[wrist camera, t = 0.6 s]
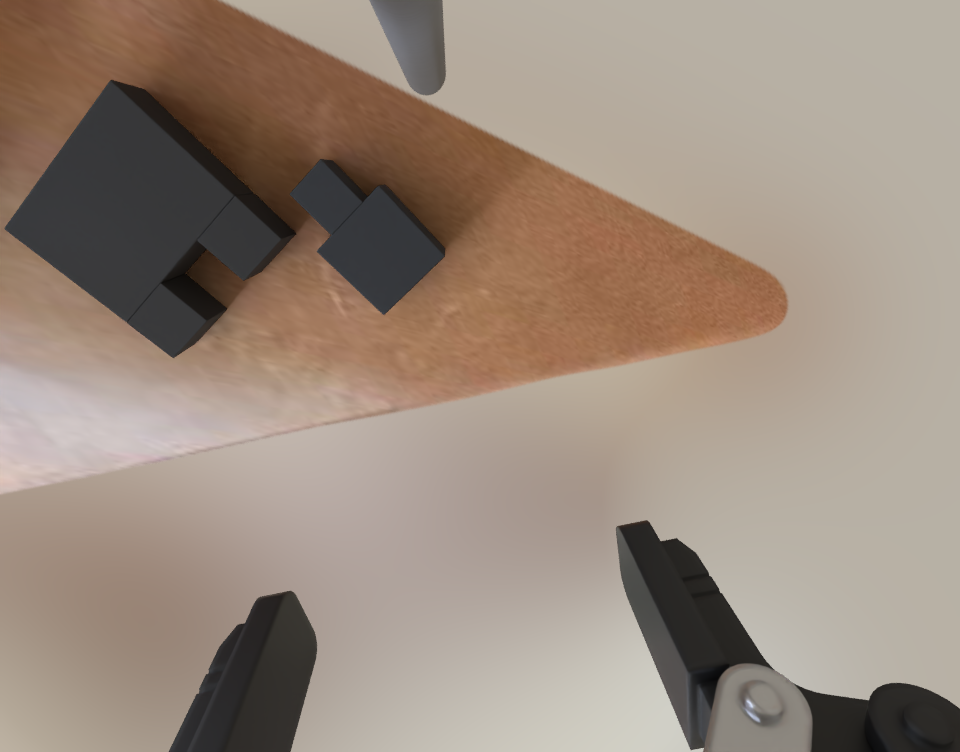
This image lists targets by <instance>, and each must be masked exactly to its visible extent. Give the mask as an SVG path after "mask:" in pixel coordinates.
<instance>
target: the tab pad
mask: <svg viewBox="0 0 960 752" xmlns="http://www.w3.org/2000/svg"><path fill="white" fill-rule="evenodd" d="M290 195H291V196H292V197H293V198H294V199H295V200H296V201H297V202H298V203H299V204H300V205H301V206H302V207H303V208H304V209H305V210H306V211H307V212H308V213H309V214H310V215H311V216H312V217H313V218H314V219H315V220H316V221H317V222H318V223H319V224H321V225H322V226H323V227H324V228H325V229H326V230H327V231H328V232H329V233H330V234H331V236H330V238H329V239H328V240H327V241H326V242H325V243H324V244H323V245H322V246H321V247H320V248H319V249H318V250H317V252H318V253H319V254H320V255H321V256H322V257H323V258H324V259H325V260H326V261H327V262H328V263H329V264H331V265H332V266H333V267H334V268H335V269H336V270H337V271H338V272H339V273H340V274H341V275H342V276H343V277H344V278H345V279H346V280H347V281H348V282H349V283H350V284H352V285H353V286H354V287H355V288H356V289H357V290H358V291H359V292H360V293H361V294H362V295H363V296H364V297H365V298H366V299H367V300H368V301H369V302H370V303H372V304H373V305H374V306H375V307H376V308H377V309H378V310H379V311H380V312H381V313H382V314H383V315H384V314H386V313H387V312H388V311H389V310H390V309H391V308H392V307H393V306H394V305H395V304H396V303H397V302H398V301H399V300H400V299H401V298H402V297H403V296H404V295H405V294H406V293H407V292H408V291H409V290H411V289H412V288H413V287H414V286H415V285H416V284H417V283H418V282H419V281H420V280H421V279H422V278H423V277H424V276H425V275H426V274H427V273H428V272H429V271H430V270H431V269H432V268H433V267H434V266H435V265H436V264H437V263H438V262H439V261H440V260H442V259H443V258H444V257H445V248H444V247H443V246H442V245H441V244H440V242H439V241H438V240H437V239H436V238H435V237H434V236H433V235H432V234H431V233H430V232H429V231H428V230H427V228H426V227H425V226H424V225H423V224H422V223H421V222H420V221H419V220H418V219H417V218H416V217H415V216H414V215H413V213H412V212H411V211H410V210H409V209H408V208H407V207H406V206H405V205H404V204H403V203H402V202H401V201H400V199H399V198H398V197H397V196H396V195H395V194H394V193H393V192H392V191H391V190H390V189H389V188H388V187H387V186H386V185H380V186H378V187H377V188H376V189H375V190H374V191H373V192H372V193H371V194H370V195H369V196H368V197H367V196H366V195H365V194H364V193H363V191H362V190H361V189H360V188H359V187H358V186H357V185H356V184H355V183H354V182H353V181H352V180H351V179H350V178H349V177H348V176H347V175H346V174H345V173H344V172H343V171H342V170H341V168H340V167H339V166H338V165H337V164H336V163H335V162H334V161H332V160H324V159H320V160H319V162H318V163H317V164H316V165H315V166H314V167H313V168H312V169H311V171H310V172H309V173H308V174H307V175H306V176H305V177H304V178H303V180H302V181H301V182H300V183H299V184H298V185H297V186H296V187H295V189H294V190H293V191H292V192H291V193H290Z"/></svg>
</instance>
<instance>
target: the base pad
mask: <svg viewBox="0 0 960 752" xmlns="http://www.w3.org/2000/svg"><path fill="white" fill-rule="evenodd" d="M5 230H6V231H8V232H9V233H10V234H12V235H13V236H14V237H15V238H17V239H18V240H19V241H21V242H22V243H23V244H25V245H26V246H27V247H29V248H30V249H31V250H32V251H34V252H35V253H36V254H38V255H39V256H40V257H42V258H43V259H44V260H46V261H47V262H48V263H50V264H51V265H52V266H53V267H55V268H56V269H57V270H59V271H60V272H61V273H63V274H64V275H65V276H67V277H68V278H69V279H71V280H72V281H73V282H74V283H76V284H77V285H78V286H80V287H81V288H82V289H84V290H85V291H86V292H88V293H89V294H90V295H92V296H93V297H94V298H95V299H97V300H98V301H99V302H101V303H102V304H103V305H105V306H106V307H107V308H109V309H110V310H111V311H113V312H114V313H115V314H116V315H118V316H119V317H120V318H122V319H123V320H124V321H126V322H127V323H128V324H129V325H130V326H132V327H133V328H134V329H136V330H137V331H138V332H140V333H141V334H142V335H143V336H145V337H146V338H147V339H149V340H150V341H151V342H153V343H154V344H155V345H157V346H158V347H159V348H161V349H162V350H163V351H164V352H166V353H167V354H168V355H170V356H171V357H172V358H174V357H176V356H177V355H179V354H180V353H182V352H183V351H185V350H186V349H188V348H189V347H191V346H192V345H194V344H195V343H196V342H197V341H198V340H199V339H200V338H201V337H202V336H203V335H204V334H205V333H206V332H207V330H208V329H209V328H210V327H211V326H212V325H213V324H214V323H215V322H216V321H217V320H218V318H219V317H220V316H221V315H222V314H223V313H224V312H225V311H226V310H227V308H226V307H224V306H223V305H222V304H221V303H220V302H218V301H217V300H216V299H215V298H214V297H212V296H211V295H210V294H209V293H208V292H206V291H205V290H204V289H203V288H202V287H200V286H199V285H198V284H197V283H196V282H194V281H193V280H192V279H191V278H190V277H188V276H187V275H186V274H185V273H186V272H187V271H188V269H189V268H190V267H191V266H192V265H193V264H194V263H195V261H196V260H197V259H198V258H199V257H200V256H201V254H202V253H203V252H204V251H205V250H206V249H208V250H209V251H210V252H211V253H212V254H213V255H214V256H216V257H217V258H218V259H219V260H220V261H221V262H223V263H224V264H225V265H226V266H227V267H228V268H229V269H231V270H232V271H233V272H234V273H235V274H236V275H237V276H239V277H240V278H241V279H242V280H243V281H244V280H246V279H248V278H250V277H252V276H254V275H256V274H258V273H260V272H262V270H263V269H264V268H265V267H266V266H267V265H268V264H269V263H270V262H271V261H272V260H273V258H274V257H275V256H276V255H277V254H278V253H279V252H280V251H281V250H282V249H283V248H284V246H285V245H286V244H287V243H288V242H289V241H290V240H291V239H292V238H293V237H294V236H295V235H296V233H295V232H294V231H293V230H292V229H291V228H290V227H289V226H288V225H287V224H286V223H285V222H284V221H283V220H282V219H281V218H279V217H278V216H277V215H276V214H275V213H274V212H273V211H272V210H271V209H270V208H269V207H268V206H267V205H266V204H265V203H264V202H263V201H262V200H261V199H259V198H258V197H257V196H256V195H255V194H253V192H252V191H251V190H250V189H249V188H248V187H247V186H246V185H244V184H243V183H242V182H241V181H240V180H239V179H238V178H237V177H236V176H235V175H234V174H233V173H232V172H231V171H230V170H229V169H228V168H227V167H226V166H224V165H223V164H222V163H221V162H220V161H219V160H218V159H217V158H216V157H215V156H214V155H213V154H212V153H211V152H210V151H209V150H208V149H207V148H206V147H204V146H203V145H202V144H201V143H200V142H199V141H198V140H197V139H196V138H195V137H194V136H193V135H192V134H191V133H190V132H189V131H188V130H187V129H186V128H184V127H183V126H182V125H181V124H180V123H179V122H178V121H177V120H176V119H175V118H174V117H173V116H172V115H171V114H170V113H169V112H168V111H167V110H166V109H164V108H163V107H162V106H161V105H160V104H159V103H158V102H157V101H156V100H155V99H154V98H153V97H152V96H151V95H150V94H149V93H148V92H147V91H146V90H144V89H142V88H138V87H135V86H131V85H128V84H124V83H120V82H117V81H113V80H111V81H110V82H109V83H108V84H107V86H106V87H105V89H104V90H103V91H102V93H101V94H100V96H99V97H98V98H97V100H96V101H95V102H94V104H93V105H92V107H91V108H90V109H89V111H88V112H87V114H86V115H85V116H84V118H83V119H82V121H81V122H80V123H79V125H78V126H77V128H76V129H75V130H74V132H73V133H72V135H71V136H70V137H69V139H68V140H67V142H66V143H65V144H64V146H63V147H62V149H61V150H60V151H59V153H58V154H57V156H56V157H55V158H54V160H53V161H52V163H51V164H50V165H49V167H48V168H47V170H46V171H45V172H44V174H43V175H42V177H41V178H40V179H39V181H38V182H37V184H36V185H35V186H34V188H33V189H32V190H31V192H30V193H29V195H28V196H27V197H26V199H25V200H24V202H23V203H22V204H21V206H20V207H19V209H18V210H17V211H16V213H15V214H14V216H13V217H12V218H11V220H10V221H9V223H8V224H7V225H6V227H5Z"/></svg>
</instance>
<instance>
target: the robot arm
mask: <svg viewBox="0 0 960 752" xmlns="http://www.w3.org/2000/svg"><path fill="white" fill-rule="evenodd" d="M616 535H617V544H618V553H619V561H620V571H621V576H622V581H623V585H624V588H625V592H626V595H627V597H628V600H629V603H630V605H631V607H632V610H633V612H634V615H635V617H636V619H637V622H638V624H639V627H640V629H641V631H642V634H643V636H644V638H645V641H646V643H647V646H648V648H649V651H650V653H651V656H652V658H653V660H654V662H655V665H656V668H657V670H658V672H659V675H660V677H661V679H662V682H663V684H664V687H665V689H666V691H667V694H668V696H669V699H670V701H671V704H672V706H673V708H674V711H675V713H676V715H677V718H678V721H679V723H680V725H681V727H682V730H683V733H684V735H685V737H686V740H687V742H688V744H689V747H690V749H691V750H693V749H699V748H704V751H703V752H960V709H959V708H958V707H957V706H955V705H954V704H953V703H951V702H950V701H948V700H947V699H945V698H943V697H941V696H939V695H938V694H935V693H934V692H931V691H929V690H927V689H924V688H921V687H918V686H915V685H910V684H904V683H890V684H885V685H882V686H880V687H878V688H877V689H876V690H875V691H873V693H872V695H871V696H870V699H869V700H862V699H855V698H848V697H841V696H834V695H827V694H821V693H816V692H813V691H810V690H807V689H804V688H802V687H800V686H797V685H796V684H794V683H792V682H791V681H790V680H789V679H787V678H786V677H784V676H783V675H782V674H780V673H778V672H777V671H775V670H774V669H773V668H772V667H771V666H770V665H769V664H768V663H767V662H766V660H765V659H764V658H763V656H762V655H761V653H760V652H759V650H758V649H757V647H756V646H755V644H754V642H753V641H752V639H751V638H750V636H749V635H748V633H747V632H746V630H745V628H744V627H743V625H742V624H741V622H740V621H739V619H738V618H737V616H736V615H735V613H734V611H733V610H732V608H731V607H730V605H729V604H728V602H727V601H726V599H725V598H724V596H723V594H722V593H720V591H719V588H718V587H717V585H716V583H715V582H714V581H713V579H712V577H711V576H709V573H708V571H707V569H706V568H705V566H704V565H703V563H702V562H701V560H700V559H699V557H698V556H697V554H696V553H695V552H694V551H693V550H691V549H690V548H688V547H687V546H686V545H685V544H683V543H682V542H681V541H679V540H678V539H677V538H676V539H671V540H666V541H660V540H659V538H658V536H657V534H656V533H655V531H654V529H653V527H652V526H651V525H650V523H649V522H648V521H647V520H646V521H640V522H636V523H631V524H626V525H621V526H617V527H616ZM316 654H317V642H316V636H315V632H314V630H313V628H312V626H311V624H310V622H309V620H308V618H307V616H306V614H305V612H304V610H303V608H302V606H301V604H300V602H299V600H298V598H297V597H296V595H295V594H294V592H292V591H287V592H282V593H277V594H272V595H267V596H262V597H259V598H258V599H257V600H256V601H255V603H254V605H253V607H252V609H251V612H250V614H249V616H248V618H247V620H246V623H245V624H239V625H237V626H236V628H235V629H234V630H233V631H232V632H231V634H230V635H229V636H228V637H227V639H226V640H225V641H224V642H223V643H222V644H221V646H220V647H219V649H218V651H217V653H216V655H215V657H214V659H213V662H212V664H211V666H210V668H209V673H208V674H206V676H205V678H204V680H203V682H202V684H201V687H200V688H199V690H200V691H199V694H197V695H196V697H195V699H194V701H193V703H192V705H191V707H190V709H189V711H188V713H187V715H186V717H185V719H184V722H183V724H182V726H181V728H180V730H179V732H178V734H177V736H176V738H175V740H174V742H173V744H172V746H171V748H170V750H169V752H290V751H291V748H292V744H293V740H294V737H295V732H296V729H297V726H298V722H299V718H300V715H301V711H302V707H303V704H304V700H305V697H306V693H307V689H308V685H309V682H310V678H311V675H312V671H313V668H314V664H315V660H316Z"/></svg>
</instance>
